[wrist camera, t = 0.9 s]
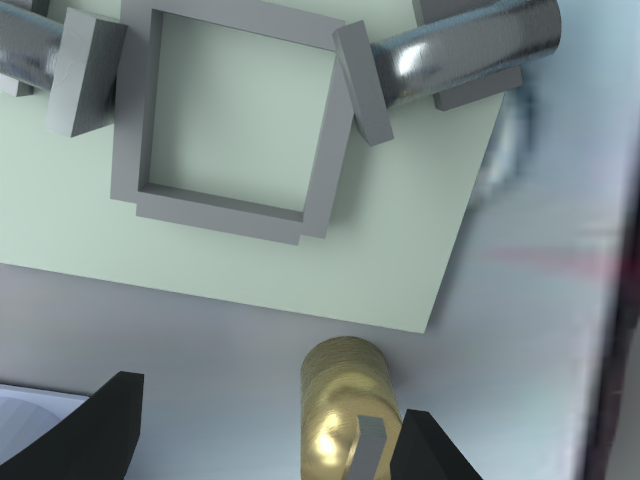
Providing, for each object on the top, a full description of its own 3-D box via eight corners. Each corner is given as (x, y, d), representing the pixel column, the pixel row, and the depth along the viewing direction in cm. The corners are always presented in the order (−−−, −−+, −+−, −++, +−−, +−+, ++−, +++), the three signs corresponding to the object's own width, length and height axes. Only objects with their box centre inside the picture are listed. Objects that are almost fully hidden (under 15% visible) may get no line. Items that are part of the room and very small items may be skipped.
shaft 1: (149, 24, 18) (97, 11, 13) (124, 124, 19) (68, 144, 14) (-37, -55, 16) (-163, -98, 12) (-50, 57, 18) (-169, 56, 13)
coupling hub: (374, 414, 25) (398, 532, 19) (293, 403, 24) (289, 519, 18) (397, 342, 23) (432, 444, 17) (310, 328, 23) (314, 427, 17)
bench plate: (419, 325, 23) (431, 350, 21) (-11, 251, 21) (-45, 272, 19) (522, 16, 18) (550, 10, 16) (-25, -122, 16) (-74, -149, 14)
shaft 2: (355, 131, 19) (371, 152, 15) (326, 31, 18) (334, 21, 13) (514, 79, 19) (580, 84, 14) (497, -29, 17) (564, -60, 13)
